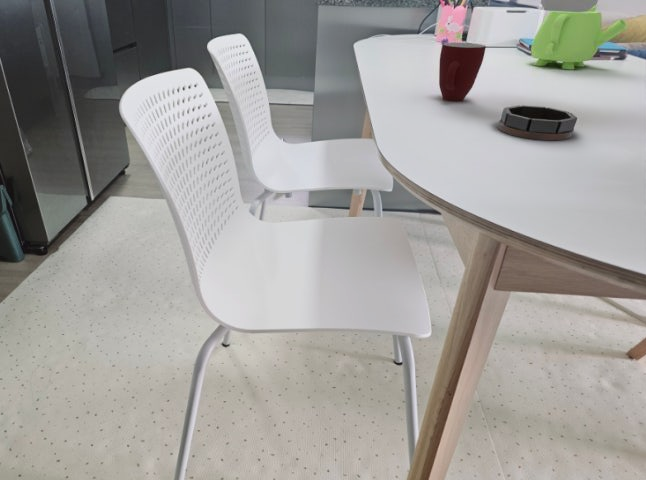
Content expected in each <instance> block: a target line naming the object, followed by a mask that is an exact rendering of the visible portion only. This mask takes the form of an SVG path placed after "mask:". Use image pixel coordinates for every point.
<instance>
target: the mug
mask: <svg viewBox="0 0 646 480" xmlns="http://www.w3.org/2000/svg"><path fill="white" fill-rule="evenodd" d="M486 47H487V45H485V44H481V43H470V42H445V43H442V45H441V49H440V55H439V66H438V67H439V71H438V73H439V74H438V84H439V90H440V93H441V97H442V99H443V100H446V101H450V102H451V101H452V102H461V101H463V100H465V98H466V97H467V95H468V94H469V93H470V92H471V90H472V88H473V86H474V84H475V82H476V79H477V77H478V75H479V71H480V69H481V66H482V65H483V61H484V58H485V53H486Z"/></svg>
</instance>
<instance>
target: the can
mask: <svg viewBox="0 0 646 480" xmlns="http://www.w3.org/2000/svg"><path fill="white" fill-rule="evenodd" d="M598 2H599V0H540V5H541V6H542V8H543V10H544V11H548V12H551V11H564V12H587V11H589V9H591V8H592V7H594V6H595V5H598Z"/></svg>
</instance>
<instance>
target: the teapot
mask: <svg viewBox="0 0 646 480" xmlns="http://www.w3.org/2000/svg"><path fill="white" fill-rule="evenodd" d="M597 8H598V4H597V5H595V6H594V7H592V8H591V9H589V11H587V12H564V11H548V14H547V15H546V16H545V18H544V20H543V22H542V23H541V25H540V26H539V28H538V30H537V31H536V34H535V36H534V38H533V40H532V43H531V46H530V54H531V57H532V58H533V59H537V60H536V62H535V63H534V64H533V66H537V67H546V66H547V65H548V64H557V63H558V62H562V65H561V69H563V70H575V67H578V68H579V67H581V68H582V67H583V68H584V67H585V65H584V62H587V61H590V60H591V59H592V58H593V57H594V56H595V55H596V53H597V52H598V50H599V48H600V47H601V46H603V45H604V44H606V43H607V42H609V41H610V40H611V39H613V38H615V37H616V36H617V35H619V34H620V33H622V32H624V31H625V30H627V29H628V25H627V24H626V22H625V21H624V20H623V19H619V20H617V21H616V22H614V23H613V24H612V25H610V26H609V27H607V28H605V30H604V31H603V32H602V28H603V26H602V24H603V23H602V22H603V21H602V19H603V18H602V13H601V11H596V9H597Z"/></svg>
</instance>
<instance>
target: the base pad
mask: <svg viewBox="0 0 646 480" xmlns="http://www.w3.org/2000/svg"><path fill="white" fill-rule="evenodd" d="M577 121H578V117H577V116H575V114H574V113H573V112H569V111H567V110H562V109H558V108H553V107H546V106H539V105H538V106H537V105H525V104H523V105H513V106H506V107H504V108H503V109H502V112H501V116H500V119H499V120H498V124H497V129H498V130H499V131H501V132H502V133H505V134H507V135H510V136H514V137H519V138H523V139H528V140H529V139H530V140H535V141H536V140H537V141H563V140H568V139H570V138H572V137H573V135H574V132H575V131H574V130H575V126H576V124H577Z"/></svg>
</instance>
